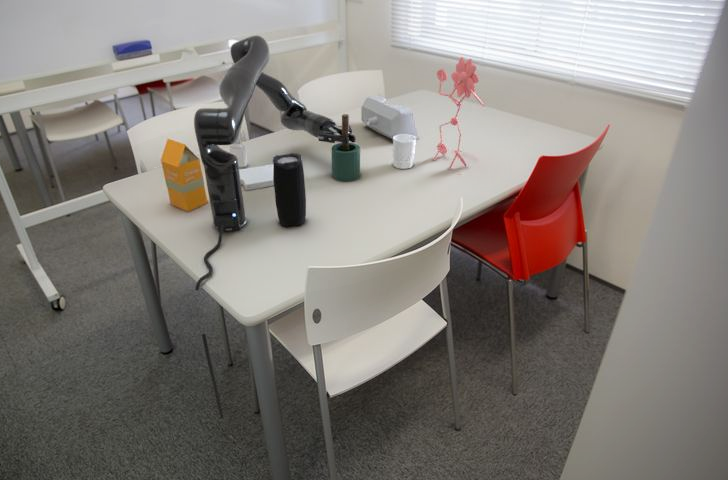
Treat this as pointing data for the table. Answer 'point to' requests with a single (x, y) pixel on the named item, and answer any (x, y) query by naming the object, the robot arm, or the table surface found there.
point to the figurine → (463, 83)
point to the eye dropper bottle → (239, 152)
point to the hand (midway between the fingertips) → (351, 140)
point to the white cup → (403, 150)
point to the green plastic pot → (346, 162)
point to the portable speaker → (289, 189)
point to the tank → (387, 117)
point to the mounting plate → (257, 177)
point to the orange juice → (183, 176)
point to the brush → (345, 130)
